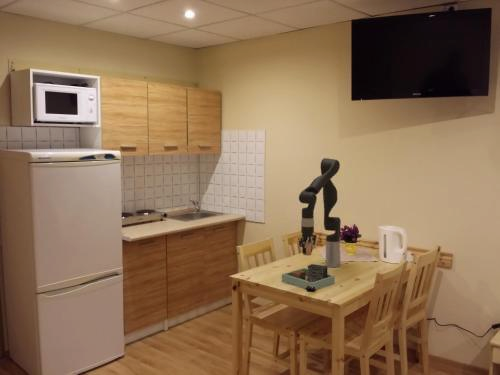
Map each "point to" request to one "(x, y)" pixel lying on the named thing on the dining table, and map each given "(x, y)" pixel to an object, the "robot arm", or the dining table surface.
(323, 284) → the teal shallow rectangular tray
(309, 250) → the jar
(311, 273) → the small box
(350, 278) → the dining table surface
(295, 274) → the block
